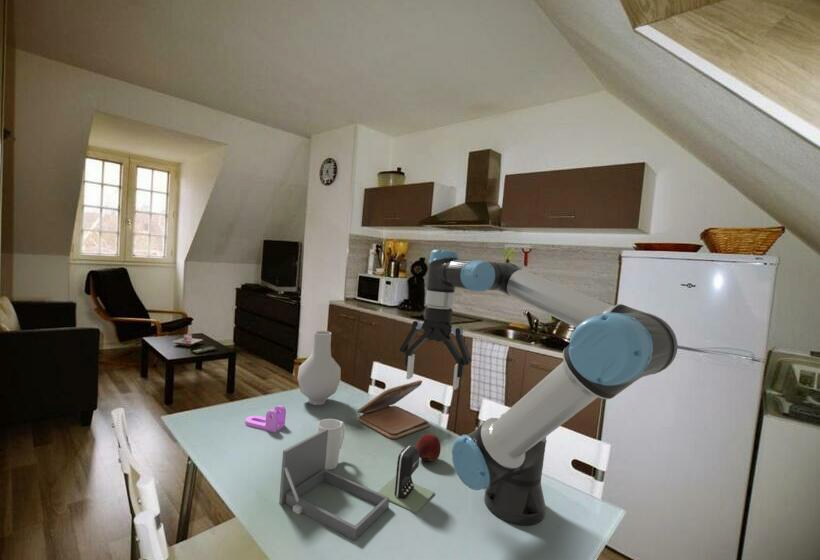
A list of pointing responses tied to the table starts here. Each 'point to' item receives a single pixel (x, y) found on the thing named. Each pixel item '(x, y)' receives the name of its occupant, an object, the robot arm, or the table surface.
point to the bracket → (269, 420)
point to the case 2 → (392, 413)
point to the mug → (332, 440)
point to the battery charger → (406, 471)
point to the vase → (319, 371)
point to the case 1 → (308, 470)
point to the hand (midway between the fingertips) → (431, 383)
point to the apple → (429, 447)
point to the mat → (412, 501)
